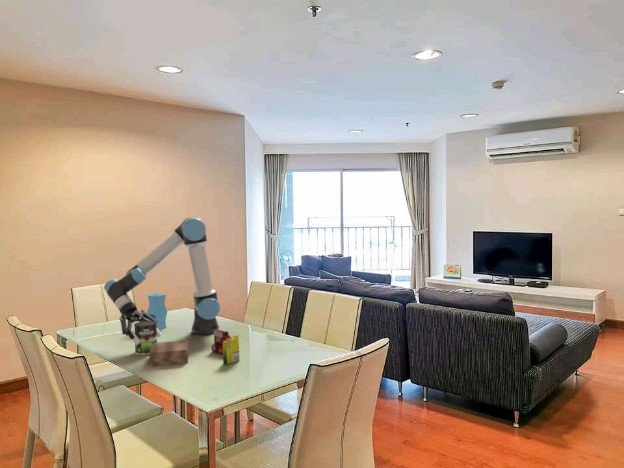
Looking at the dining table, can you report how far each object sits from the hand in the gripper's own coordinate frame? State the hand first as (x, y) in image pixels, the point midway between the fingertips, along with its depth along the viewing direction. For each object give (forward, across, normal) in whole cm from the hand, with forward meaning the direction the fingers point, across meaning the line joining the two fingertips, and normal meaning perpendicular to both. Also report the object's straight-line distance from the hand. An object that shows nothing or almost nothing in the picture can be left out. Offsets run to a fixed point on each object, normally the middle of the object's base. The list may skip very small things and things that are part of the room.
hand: (149, 339), depth 223 cm
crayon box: (+36, -4, +27) cm, 46 cm away
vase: (-18, -36, -26) cm, 48 cm away
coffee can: (+3, 0, -6) cm, 7 cm away
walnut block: (+16, +4, +7) cm, 18 cm away
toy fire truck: (+28, -15, +18) cm, 36 cm away
